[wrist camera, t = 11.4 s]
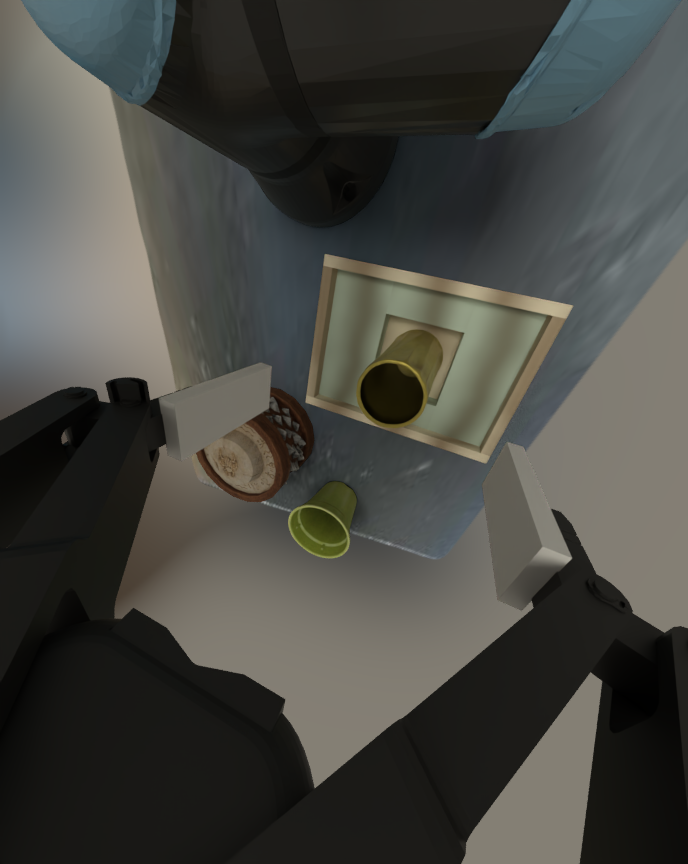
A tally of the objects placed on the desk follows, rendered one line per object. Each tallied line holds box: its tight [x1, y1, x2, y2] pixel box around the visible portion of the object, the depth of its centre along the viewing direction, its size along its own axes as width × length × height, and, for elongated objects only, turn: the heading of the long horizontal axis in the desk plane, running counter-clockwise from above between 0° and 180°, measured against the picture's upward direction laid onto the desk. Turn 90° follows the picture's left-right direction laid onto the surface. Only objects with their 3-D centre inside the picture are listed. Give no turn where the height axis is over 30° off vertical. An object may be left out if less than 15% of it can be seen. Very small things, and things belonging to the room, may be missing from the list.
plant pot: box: [288, 481, 357, 558], centre depth 43 cm, size 9×9×9 cm
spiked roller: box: [196, 387, 314, 502], centre depth 41 cm, size 15×11×15 cm
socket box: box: [306, 254, 573, 464], centre depth 31 cm, size 22×16×5 cm
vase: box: [356, 329, 443, 428], centre depth 26 cm, size 6×6×14 cm
